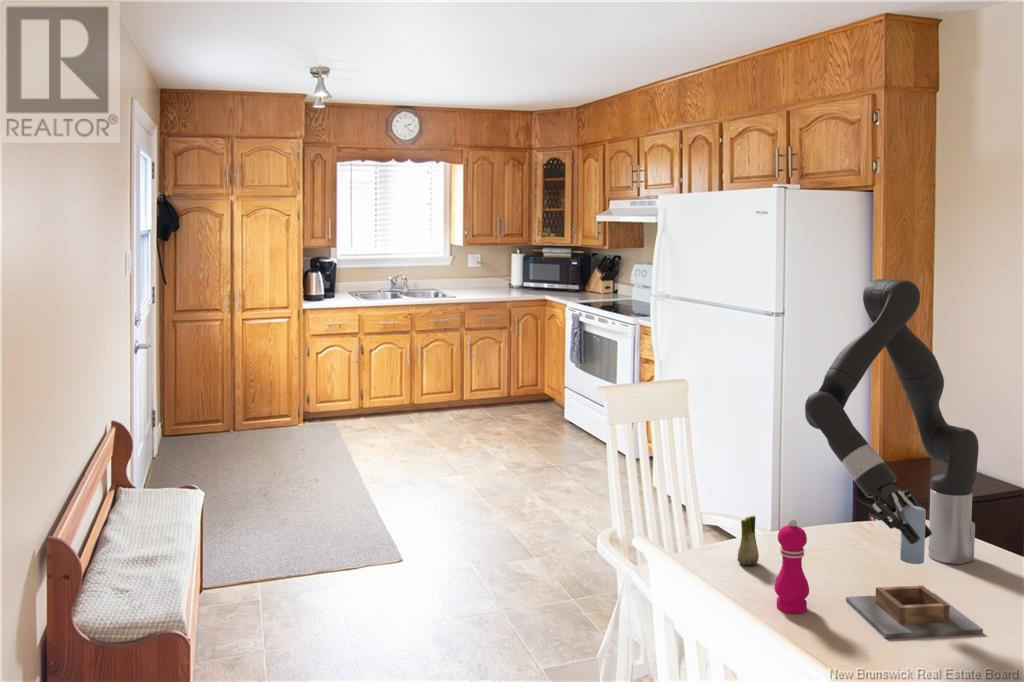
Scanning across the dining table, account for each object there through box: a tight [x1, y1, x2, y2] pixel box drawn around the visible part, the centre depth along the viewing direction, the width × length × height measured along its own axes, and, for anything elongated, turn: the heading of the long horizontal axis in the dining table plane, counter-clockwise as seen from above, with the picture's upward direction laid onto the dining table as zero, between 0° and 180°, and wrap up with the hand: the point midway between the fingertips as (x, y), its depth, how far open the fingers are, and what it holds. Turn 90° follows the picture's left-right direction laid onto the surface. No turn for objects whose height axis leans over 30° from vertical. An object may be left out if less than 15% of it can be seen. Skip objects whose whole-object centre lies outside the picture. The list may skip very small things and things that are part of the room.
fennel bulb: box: [737, 515, 760, 567], centre depth 210 cm, size 6×5×12 cm
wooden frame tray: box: [845, 584, 984, 640], centre depth 179 cm, size 20×18×4 cm
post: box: [899, 506, 927, 565], centre depth 177 cm, size 4×4×11 cm
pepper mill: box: [774, 518, 810, 615], centre depth 184 cm, size 7×7×20 cm
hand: (922, 538), depth 176 cm, fingers closed on post, 4 cm apart
